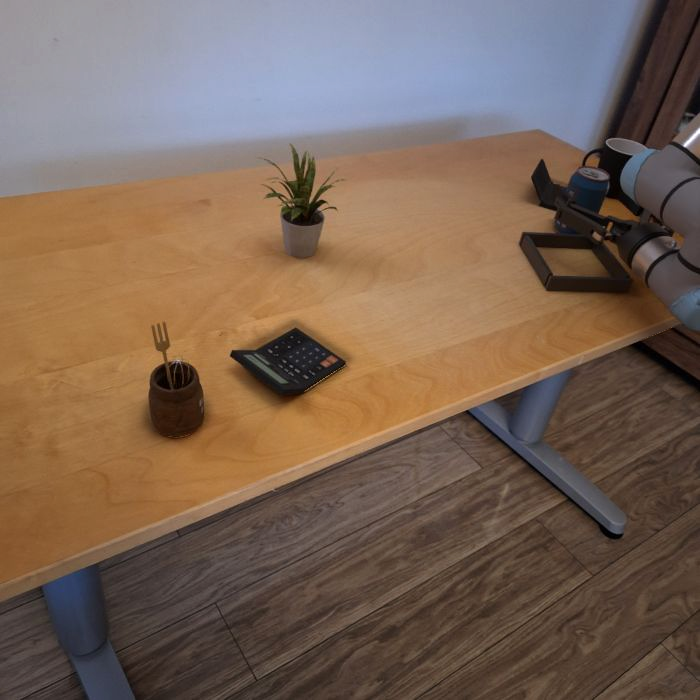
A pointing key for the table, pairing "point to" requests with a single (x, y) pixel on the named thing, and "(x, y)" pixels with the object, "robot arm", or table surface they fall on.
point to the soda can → (586, 192)
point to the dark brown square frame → (574, 283)
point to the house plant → (301, 208)
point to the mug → (615, 160)
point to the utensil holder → (174, 393)
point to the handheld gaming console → (544, 186)
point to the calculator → (289, 362)
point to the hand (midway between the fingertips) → (588, 191)
